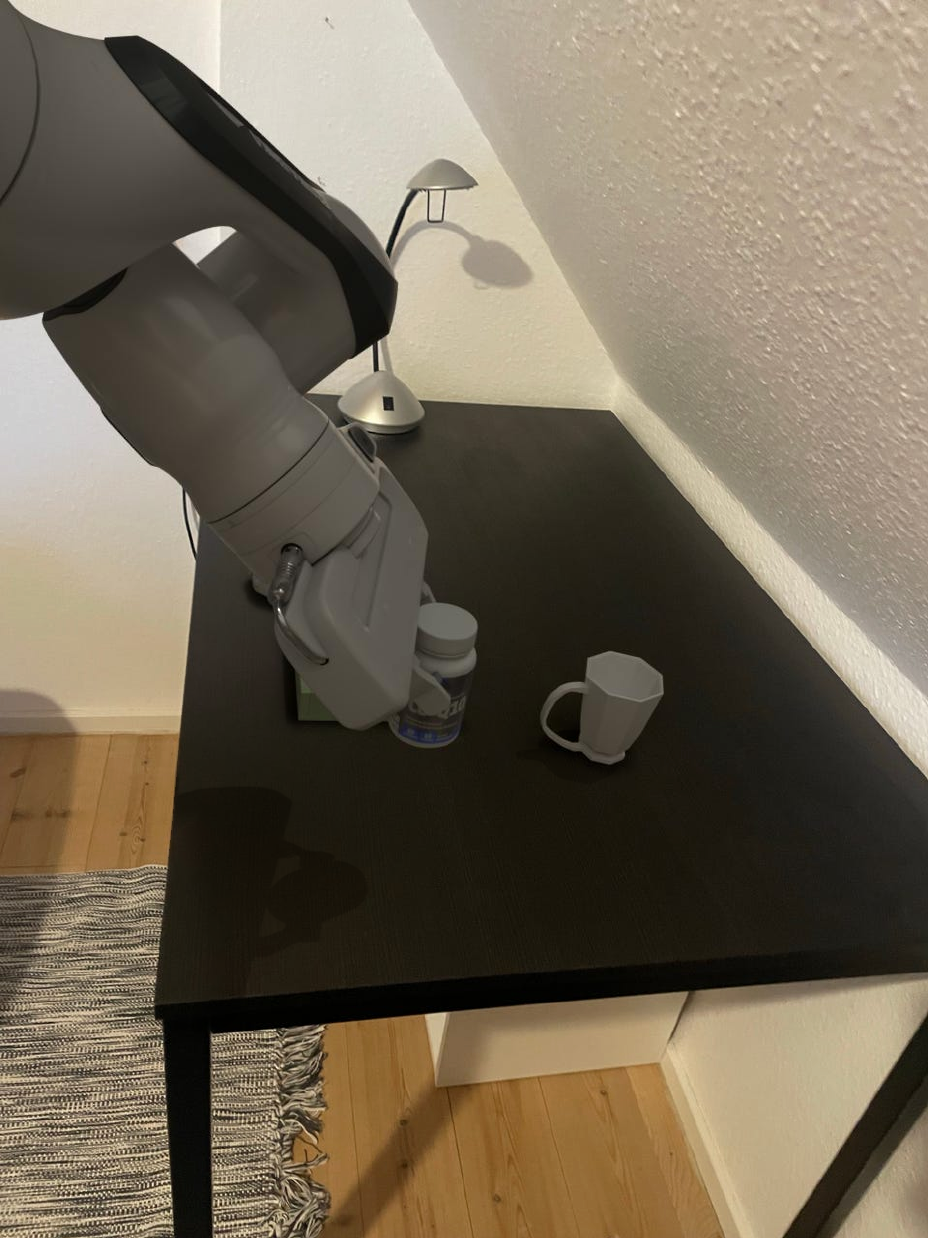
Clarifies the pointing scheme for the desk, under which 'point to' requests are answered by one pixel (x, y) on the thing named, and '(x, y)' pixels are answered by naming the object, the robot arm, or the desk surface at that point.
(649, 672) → the cup
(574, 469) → the desk surface
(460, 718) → the pill bottle
